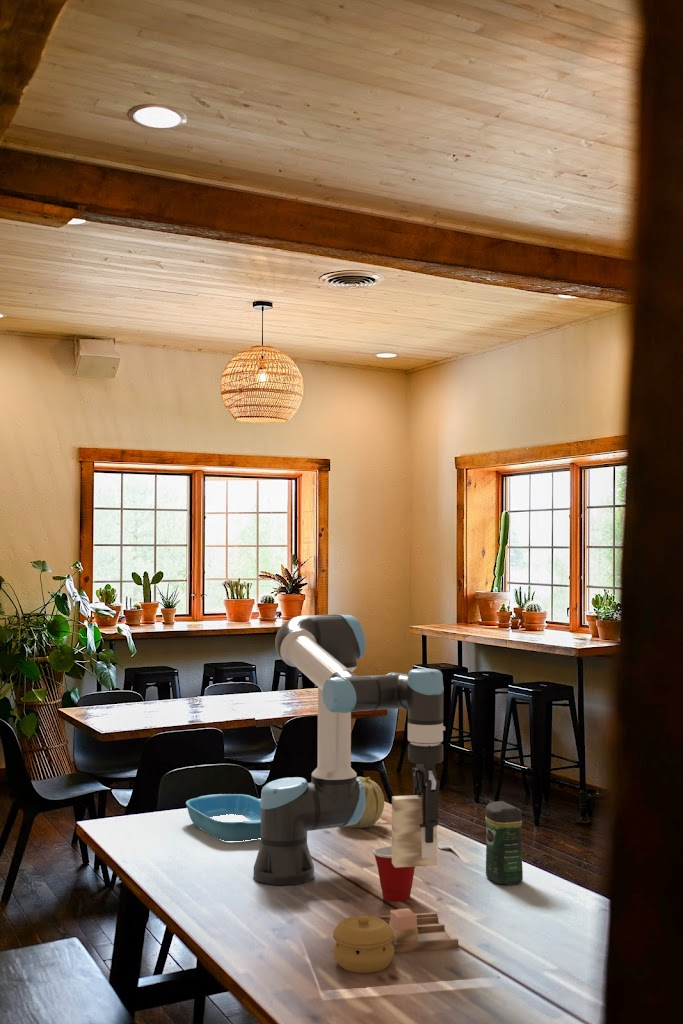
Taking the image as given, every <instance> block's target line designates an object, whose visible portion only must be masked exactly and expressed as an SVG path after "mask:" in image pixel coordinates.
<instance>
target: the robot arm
mask: <svg viewBox="0 0 683 1024" xmlns="http://www.w3.org/2000/svg"><path fill="white" fill-rule="evenodd" d="M360 622H361V621H360V620H358V618H357V617H355V616H354V615H350V614H340V613H337V614H336V613H335V614H334V613H333V614H316V615H315V614H314V615H312V614H311V615H307V614H303V615H297V616H294V617H291V618H289V619H288V620H287V621H285V622H284V623H283V624H282V625H281V626H280V627H279V630H277V632H276V636H275V640H274V641H275V642H274V643H275V644H274V647H275V651H276V653H277V655H278V657H279V658H280V659H281V660H282V661H283V662H284V663H285V664H286V665H288V666H290V667H293V668H297V669H298V670H299V671H300V672H301V673H303V675H304V676H306V678H308V679H309V680H310V681H311V682H312V683H313V684H314V685H316V687H317V767H316V768H314V770H313V771H312V772H311V782H308V781H307V779H306V778H304V777H299V776H294V777H282V778H278V779H275V780H272V781H269V782H267V783H266V784H265V785H263V786H262V789H261V792H260V793H261V794H260V800H261V802H260V807H261V840H260V846H259V850H258V853H257V855H256V858H255V861H254V866H253V876H254V877H253V879H254V880H255V881H257V882H259V883H262V884H267V885H273V886H275V885H276V886H286V885H287V886H290V885H297V884H303V883H306V882H308V881H311V880H312V879H313V878H314V877H315V866H314V863H313V858H312V855H311V853H310V850H309V849H310V848H309V846H308V832H309V831H310V832H311V831H317V830H328V829H335V828H338V829H341V828H344V827H348V826H349V825H354V824H356V823H357V822H358V821H359V819H360V818H361V817H362V815H363V812H364V808H365V800H366V796H365V791H364V785H363V783H362V782H361V780H359V779H357V777H358V775H357V774H358V773H357V772H356V771H355V769H353V768H352V767H351V766H352V763H351V762H352V759H351V756H352V755H351V754H352V751H351V750H352V748H351V747H352V713H355V712H356V713H357V712H368V711H382V710H397V709H399V710H404V711H405V710H406V711H407V741H408V742H409V743H408V744H407V760H408V761H409V762H410V763H413V764H415V767H412V769H411V772H412V779H413V780H412V781H413V782H412V783H413V784H412V785H413V786H412V787H413V791H412V792H413V795H422V813H423V824H419V825H420V827H421V857H422V858H435V826H437V827H438V826H439V800H440V799H439V798H440V796H439V794H440V784H441V781H440V779H438V772H437V771H436V767H435V766H436V765H437V764H441V763H442V762H443V761H444V744H442V742H443V741H444V731H446V726H444V688H445V687H444V680H443V679H444V678H443V677H444V676H443V672H442V671H441V670H440V669H435V668H413V669H410V670H409V671H408V672H407V673H408V674H407V673H404V672H400V671H399V672H389V673H387V674H380V675H379V674H377V675H356V674H355V673H354V671H355V670H356V669H357V668H358V660H360V659H362V658H363V657H364V656H365V652H366V648H367V647H366V646H367V645H366V644H367V643H366V642H367V641H366V634H365V631H364V629H363V626H362V624H361V623H360ZM349 827H350V826H349Z"/></svg>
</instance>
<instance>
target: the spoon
mask: <svg viewBox="0 0 683 1024" xmlns="http://www.w3.org/2000/svg"><path fill="white" fill-rule="evenodd" d="M442 847H443V848H442ZM437 848H439V849H441V850H445V851H446V850H452V851H453V852H454V853H455V854H456V855H457V857H458V858H459V859H460V860H461V861H462V862H464V863H470V859H468V858H467V857H465V856H464V855H463V854H462V853H460V852H459V851H458V850H456V848H455V846H454V845H452V844H450V843H449V842H447V841H444V840H439V841H438V842H437Z"/></svg>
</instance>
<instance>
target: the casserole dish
mask: <svg viewBox="0 0 683 1024" xmlns="http://www.w3.org/2000/svg"><path fill="white" fill-rule="evenodd" d="M260 802H261V799H259V798H258V797H255V796H253V795H252V796H251V795H249V794H243V793H242V794H241V793H239V794H238V793H237V794H236V793H233V794H232V793H227V794H226V793H224V794H223V793H218V794H217V793H216V794H214V793H213V794H207V795H200V796H198V797H194V798H191V799H188V800H186V802H185V805H186V809H187V813H188V816H189V819H190V820H191V822H192V824H194V825H195V826H196V827H198V828H199V829H200V828H201V831H203V830H204V832H205V831H206V832H205V833H207V834H208V833H209V834H208V835H210V836H211V835H212V837H213V836H214V837H213V838H215V837H216V838H218V839H221V840H224V841H243V840H244V841H245V840H251V839H258V838H261V807H260ZM226 814H228V815H229V814H234V815H235V814H236V815H243V816H246V817H248V819H250V820H251V821H243V822H221V821H217V820H214V819H212V818H210V817H213V816H220V815H226ZM216 838H215V839H216ZM218 839H217V840H218Z"/></svg>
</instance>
